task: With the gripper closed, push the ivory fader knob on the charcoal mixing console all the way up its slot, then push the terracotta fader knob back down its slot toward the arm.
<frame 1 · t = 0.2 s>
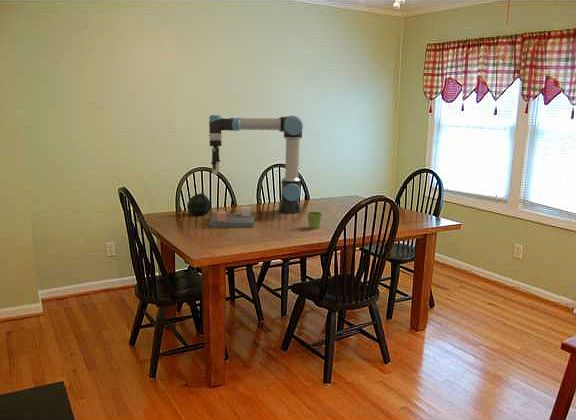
hand: (215, 173, 323), 28 cm above the table, tool pointing down, fingers open, 13 cm apart
ivory fader: (245, 211, 315), point 6 cm above the table, slide at 0.0 cm
plant pot: (314, 227, 301), on the table
squash: (199, 214, 332), on the table
console: (232, 222, 309), on the table
terracotta fader: (221, 216, 299), point 6 cm above the table, slide at 14.0 cm
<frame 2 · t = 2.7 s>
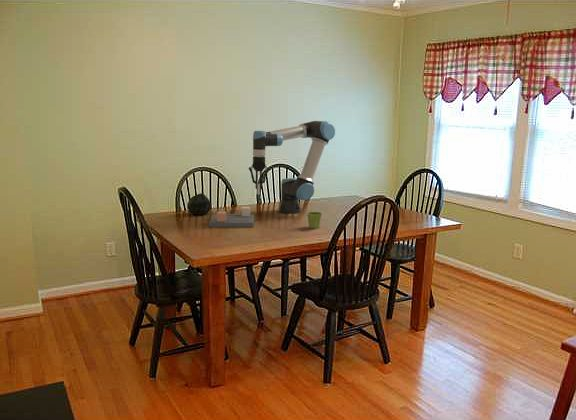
hand: (258, 194, 313), 17 cm above the table, tool pointing down, fingers closed
nothing on the table moved.
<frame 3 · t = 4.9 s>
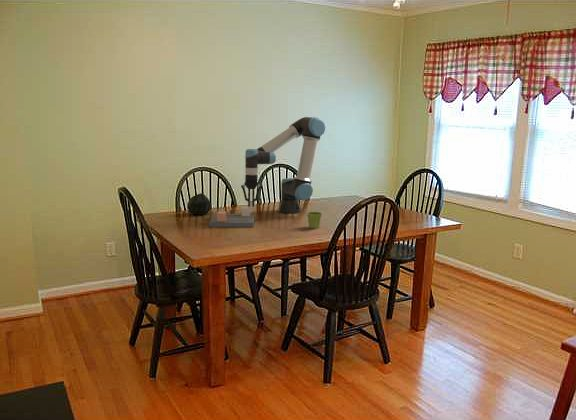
hand: (251, 211, 315), 6 cm above the table, tool pointing down, fingers closed
ivory fader: (245, 211, 315), point 6 cm above the table, slide at 0.0 cm, touching gripper
everything else where it was.
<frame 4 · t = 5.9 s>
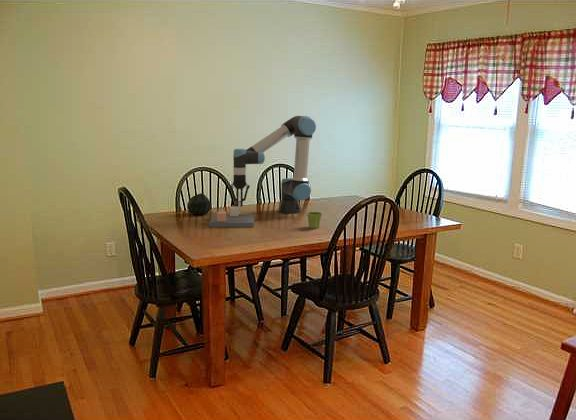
hand: (239, 211, 315), 6 cm above the table, tool pointing down, fingers closed
ivory fader: (234, 211, 314), point 6 cm above the table, slide at 7.3 cm, touching gripper
everything else where it was.
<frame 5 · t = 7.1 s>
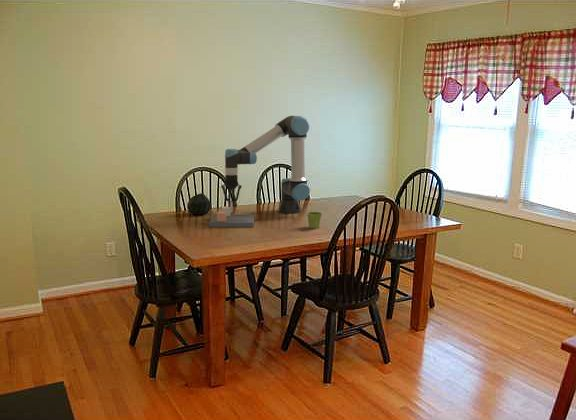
hand: (231, 211, 314), 5 cm above the table, tool pointing down, fingers closed
ivory fader: (226, 211, 314), point 6 cm above the table, slide at 12.2 cm, touching gripper
everything else where it was.
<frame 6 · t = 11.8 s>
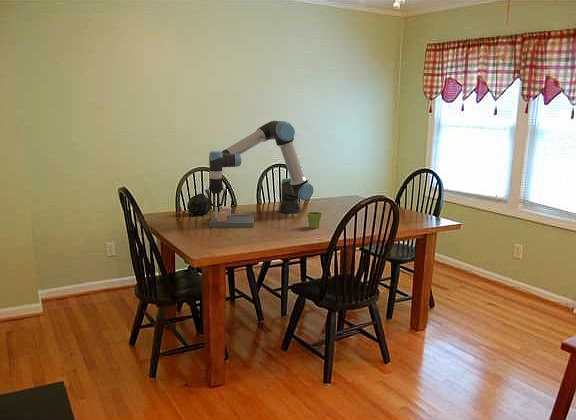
hand: (216, 217, 299), 5 cm above the table, tool pointing down, fingers closed
ivory fader: (226, 211, 314), point 6 cm above the table, slide at 12.2 cm
terracotta fader: (221, 216, 299), point 6 cm above the table, slide at 13.8 cm, touching gripper
everything else where it was.
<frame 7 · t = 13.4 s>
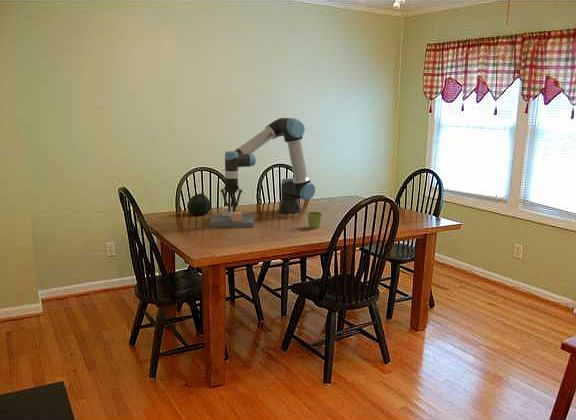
hand: (231, 217, 300), 5 cm above the table, tool pointing down, fingers closed
terracotta fader: (237, 216, 300), point 6 cm above the table, slide at 4.9 cm, touching gripper
everything else where it was.
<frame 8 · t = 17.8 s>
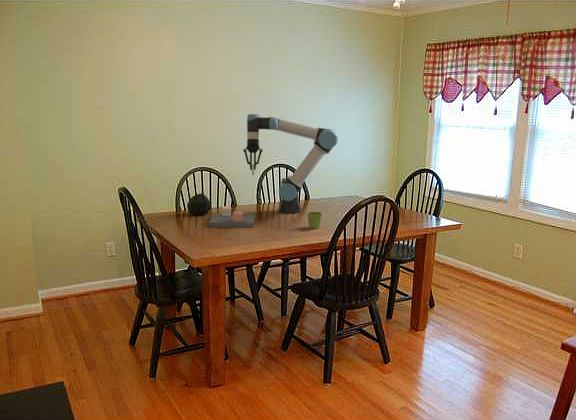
hand: (252, 174, 329), 26 cm above the table, tool pointing down, fingers closed
terracotta fader: (237, 216, 300), point 6 cm above the table, slide at 4.4 cm
everything else where it was.
at the end: ivory fader slide at 12.2 cm; terracotta fader slide at 4.4 cm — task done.
